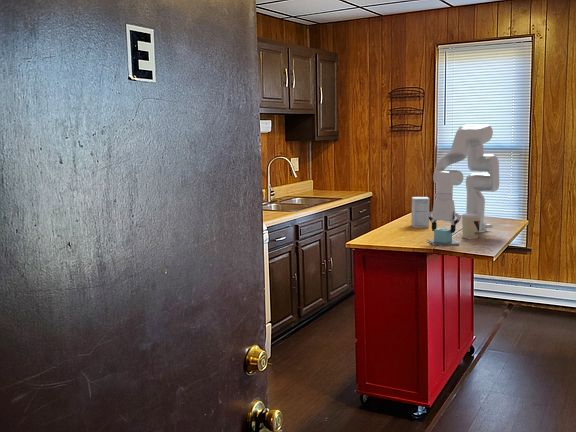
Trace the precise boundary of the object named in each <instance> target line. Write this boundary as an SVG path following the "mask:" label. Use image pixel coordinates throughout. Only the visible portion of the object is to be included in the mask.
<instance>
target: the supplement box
mask: <svg viewBox="0 0 576 432" xmlns="http://www.w3.org/2000/svg"><path fill="white" fill-rule="evenodd" d="M429 212H430V198H429V197H428V196H412V197H411V217H410V218H411V219H410V220H411V221H410V225H411V227H412V228H430V220H429V217H428V215H427V213H429Z"/></svg>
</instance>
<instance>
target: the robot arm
mask: <svg viewBox="0 0 576 432" xmlns="http://www.w3.org/2000/svg"><path fill="white" fill-rule="evenodd" d="M493 133H494V132H493V128H492V126H491V125H489V124H463V125H461V126H459V128H458V129H457V130H456V132H455V135H454V137H453V141H452V145H451V147H450V151H448V152H447V153H446V154H444V155H443V156H442V157H441V158H440V159H439V160H438V162H437V163H436V165H435V169H434V171H433V176H432V178H433V180H432V181H433V182H434V184H436V193H434V194H433V196H434V197H435V199H434V200H433V206H432V211H429V213H427V215H428V217H429V222H430V223H431V230H432V232H434V229H437V226H438V225H437V223H438V222H437V221H444V222H445V221H446V222H447V221H448V222H450V229H451V233H452V234H454V233H455V232H456V225H457V224H458V223H459V222H460V220H462V215H460V214H459V213H457V212H456V208H455V207H456V206H455V200H454V199H453V194H454V193H453V192H454V191H453V190H454V186H455V187H457V186H460V185H461V184H462V183H463V181H464V174H463V172H462V171H460V170H457V169H456V170H455V169H446V168H447V167H449V166H451V165H453V164H456V163H460V162H461V161H464V160H465V159H466V158H467V168H468V170H469V171H471V172H473V173H471V174H468V175H467V176H466V177H465V189H466V212H465V213H473V214H480V216H481V217H480V227H479V233H486V232H488V231H487V228H489V229H490V228H493V226H494V225H493V224H492V223H486V222H485V210H486V209H485V208H486V207H485V204H486V199H485V196H484V195H483V193H482V192H487V193H488V192H489V193H493V192H497V191H498V190H499V188H500V161H499V158H498V156H497V155H495V154H492V153H490V154H486V153H485V150H484V144H486V143H488V142H490V141H491V139H492V137H493V136H494V135H493ZM474 172H475V173H474ZM455 217H456V218H455Z"/></svg>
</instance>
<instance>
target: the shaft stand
mask: <svg viewBox="0 0 576 432" xmlns="http://www.w3.org/2000/svg"><path fill="white" fill-rule="evenodd" d="M446 229H447V228H446ZM446 229H441V230H446ZM427 241H429V242H431V243H432V244H434V245H456V246H458V247H459V246H460V242H457V241H455V240H453V239H452V241H451V242H448V243H441V242H434V238H433V239H432V238H431V239H426V242H427ZM429 242H428V243H429ZM431 243H430V244H431ZM432 244H431V245H432ZM434 245H433V246H434Z"/></svg>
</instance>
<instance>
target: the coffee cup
mask: <svg viewBox="0 0 576 432" xmlns="http://www.w3.org/2000/svg"><path fill="white" fill-rule="evenodd" d="M480 217H481V216H480V214H473V213H466V212H465V213H462V215H461V223H462V225H461V226H462V238H464V239H471V240H472V239H473V240H474V239H475V240H476V239H478V238H479V234H480V232H479V227H480Z"/></svg>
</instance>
